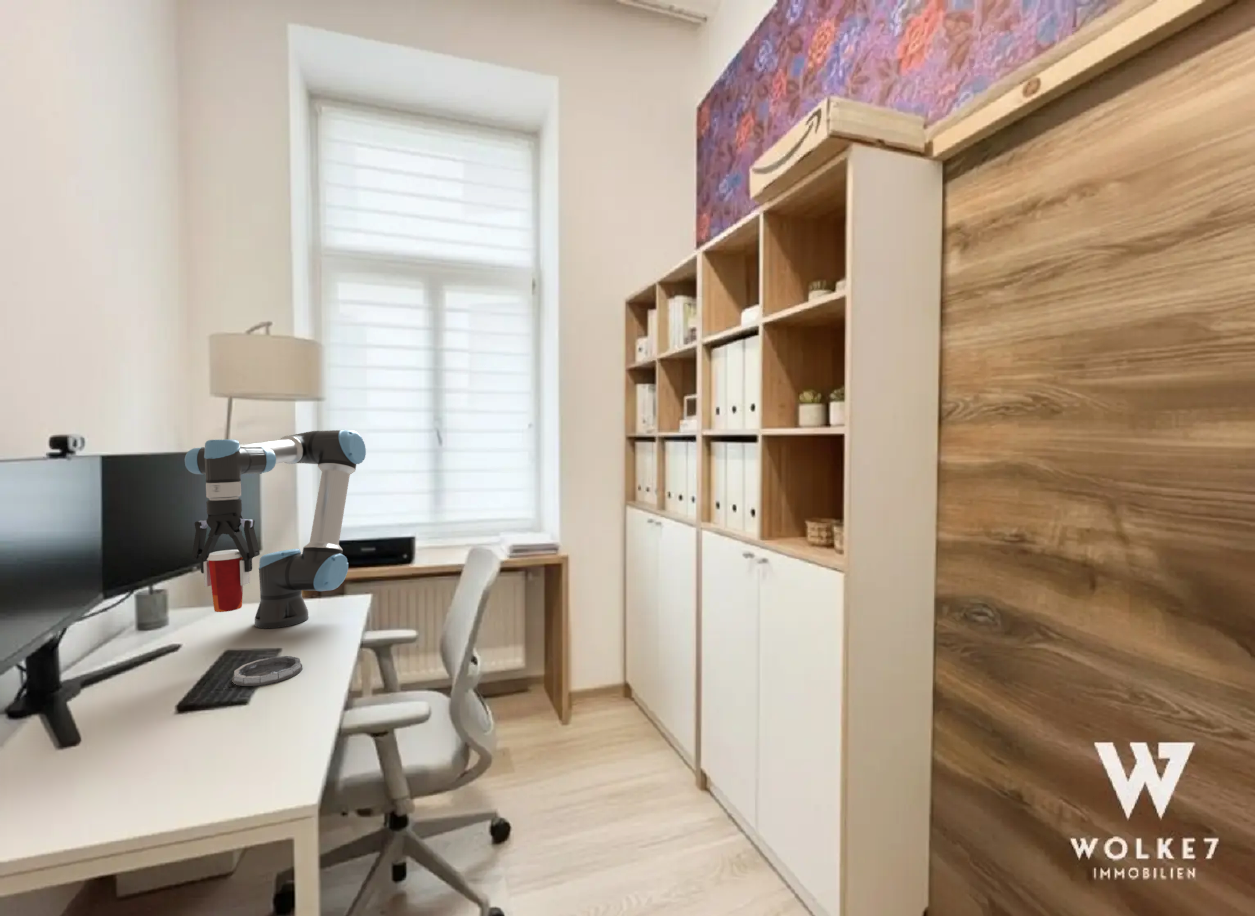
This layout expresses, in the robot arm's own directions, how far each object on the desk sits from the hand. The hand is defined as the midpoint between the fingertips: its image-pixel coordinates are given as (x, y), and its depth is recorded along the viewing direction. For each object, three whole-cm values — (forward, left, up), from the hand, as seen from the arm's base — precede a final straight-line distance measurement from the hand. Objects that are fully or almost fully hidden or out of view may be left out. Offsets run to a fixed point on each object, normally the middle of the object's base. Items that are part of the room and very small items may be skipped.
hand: (227, 584), depth 151 cm
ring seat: (+8, +14, -21) cm, 27 cm away
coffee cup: (0, 0, -7) cm, 7 cm away
